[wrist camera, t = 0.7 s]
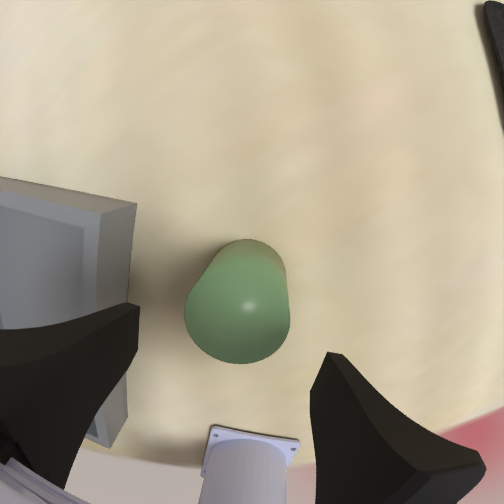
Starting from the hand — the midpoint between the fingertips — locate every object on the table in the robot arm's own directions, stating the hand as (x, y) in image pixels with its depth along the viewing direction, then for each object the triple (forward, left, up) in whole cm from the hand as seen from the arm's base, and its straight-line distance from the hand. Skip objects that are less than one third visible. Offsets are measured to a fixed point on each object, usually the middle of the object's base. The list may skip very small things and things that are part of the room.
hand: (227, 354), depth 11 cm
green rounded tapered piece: (0, 0, -9) cm, 9 cm away
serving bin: (-7, +16, -9) cm, 20 cm away
